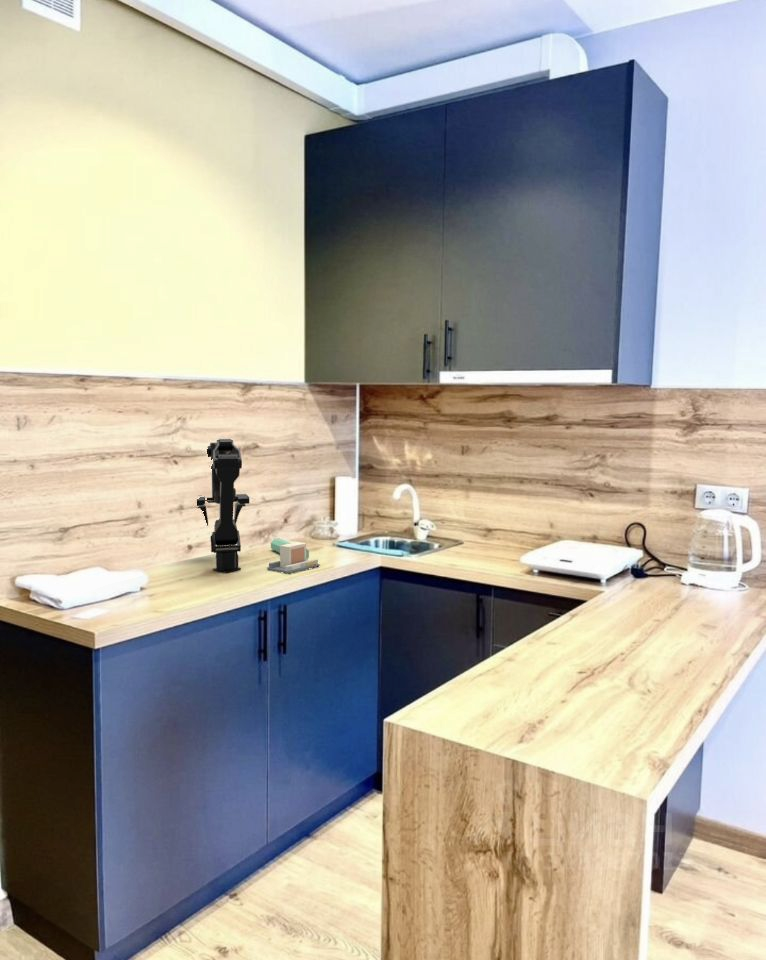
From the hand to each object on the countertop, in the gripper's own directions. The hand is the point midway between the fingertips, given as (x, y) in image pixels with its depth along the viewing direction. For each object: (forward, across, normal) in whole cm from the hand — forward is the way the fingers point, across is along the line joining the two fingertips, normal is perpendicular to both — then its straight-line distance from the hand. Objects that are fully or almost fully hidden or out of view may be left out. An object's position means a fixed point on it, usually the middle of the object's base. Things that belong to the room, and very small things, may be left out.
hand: (221, 525), depth 256 cm
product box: (+11, +21, -20) cm, 31 cm away
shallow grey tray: (+12, +21, -21) cm, 32 cm away
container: (+12, +23, 0) cm, 26 cm away
